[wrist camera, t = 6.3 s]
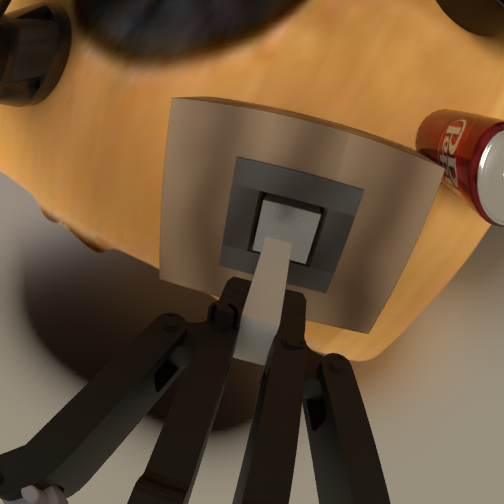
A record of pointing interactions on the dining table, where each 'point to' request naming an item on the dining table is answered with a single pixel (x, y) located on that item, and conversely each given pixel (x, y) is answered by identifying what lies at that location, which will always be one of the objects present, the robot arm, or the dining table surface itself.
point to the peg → (288, 224)
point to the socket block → (295, 187)
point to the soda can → (468, 158)
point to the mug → (476, 15)
